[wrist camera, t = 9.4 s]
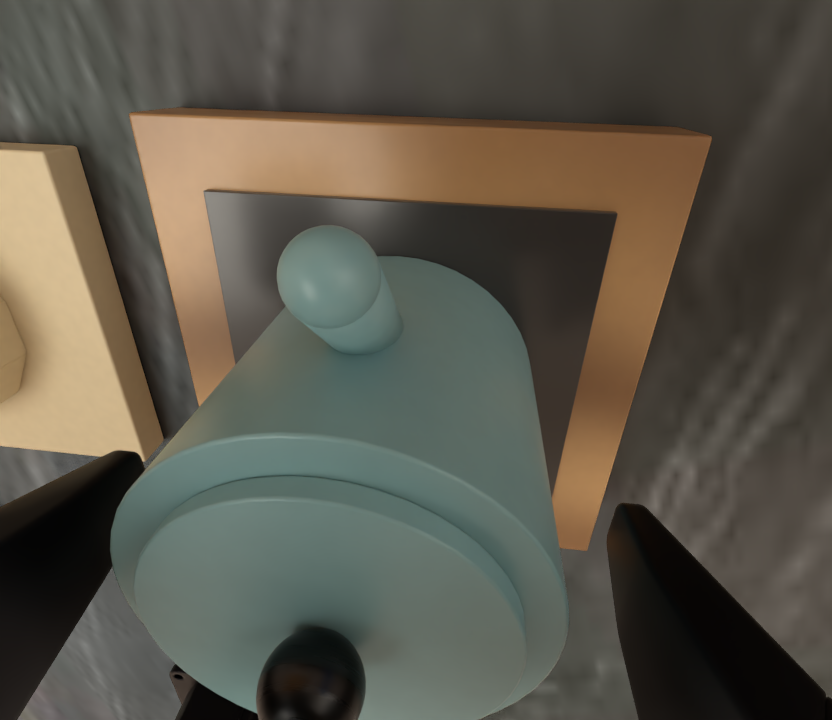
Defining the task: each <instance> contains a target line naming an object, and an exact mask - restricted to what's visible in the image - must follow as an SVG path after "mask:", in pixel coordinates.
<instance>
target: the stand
mask: <svg viewBox="0 0 832 720" xmlns="http://www.w3.org/2000/svg"><path fill="white" fill-rule="evenodd" d="M129 117H130V122H131V126H132V130H133V134H134V138H135V142H136V146H137V151H138V155H139V159H140V163H141V167H142V171H143V176H144V180H145V184H146V188H147V192H148V196H149V200H150V205H151V209H152V213H153V217H154V221H155V225H156V229H157V234H158V238H159V242H160V246H161V250H162V254H163V259H164V263H165V267H166V271H167V275H168V279H169V283H170V288H171V292H172V296H173V300H174V304H175V308H176V312H177V317H178V321H179V325H180V329H181V333H182V337H183V342H184V346H185V350H186V354H187V358H188V362H189V366H190V371H191V375H192V379H193V383H194V387H195V391H196V395H197V400H198V404H199V407H200V406H201V404H202V403H203V402H204V401H205V400H206V399H207V397H208V396H209V395H210V394H211V393H212V392H213V390H214V389H215V388H216V387H217V386H218V385H219V383H220V382H221V381H222V380H223V379H224V378H225V376H226V375H227V374H228V373H229V372H230V371H231V369H232V368H233V367H234V366H235V365H236V364H237V362H238V361H239V360H240V359H241V358H242V357H243V355H244V354H245V353H246V352H247V351H248V350H249V348H250V347H251V346H252V345H253V344H254V343H255V341H256V340H257V339H258V338H259V337H260V336H261V334H262V333H263V332H264V331H265V330H266V329H267V327H268V326H269V325H270V324H271V323H272V322H273V320H274V319H275V318H276V317H277V316H278V315H279V313H280V312H281V311H282V310H283V309H284V308H285V306H286V305H285V304H284V302H283V301H282V298H281V296H280V293H279V290H278V283H277V267H278V263H279V259H280V257H281V255H282V253H283V251H284V249H285V248H286V246H287V245H288V244H289V242H290V241H291V240H292V239H293V238H294V237H295V236H297V235H298V234H300V233H301V232H303V231H305V230H307V229H310V228H313V227H317V226H322V225H334V226H341V227H343V228H346V229H349V230H351V231H353V232H355V233H356V234H358V235H360V236H361V237H362V238H363V239H364V240H365V241H366V242H368V244H369V245H370V246H371V248H372V249H373V250H374V252H375V254H376V255H377V256H402V257H409V258H417V259H422V260H425V261H429V262H433V263H437V264H440V265H442V266H445V267H447V268H450V269H452V270H455V271H457V272H459V273H460V274H462V275H464V276H466V277H468V278H469V279H471V280H473V281H474V282H476V283H477V284H478V285H480V286H481V287H482V288H484V289H485V290H486V291H488V292H489V293H490V294H491V295H492V296H493V297H494V298H495V299H496V300H497V301H498V302H499V303H500V304H501V305H502V306H503V307H504V309H505V310H506V311H507V312H508V314H509V315H510V316H511V318H512V319H513V321H514V323H515V324H516V326H517V328H518V329H519V331H520V333H521V335H522V338H523V340H524V343H525V346H526V348H527V352H528V357H529V361H530V366H531V372H532V379H533V385H534V391H535V397H536V404H537V410H538V416H539V422H540V429H541V435H542V441H543V447H544V453H545V460H546V466H547V472H548V478H549V485H550V491H551V497H552V503H553V510H554V516H555V522H556V528H557V535H558V541H559V547H560V548H565V549H574V550H583V551H587V549H588V545H589V542H590V539H591V536H592V532H593V529H594V526H595V522H596V519H597V516H598V513H599V509H600V506H601V503H602V499H603V496H604V493H605V490H606V486H607V483H608V480H609V476H610V473H611V470H612V467H613V463H614V460H615V457H616V453H617V450H618V447H619V444H620V440H621V437H622V434H623V430H624V427H625V424H626V421H627V417H628V414H629V411H630V407H631V404H632V401H633V398H634V394H635V391H636V388H637V384H638V381H639V378H640V374H641V371H642V368H643V365H644V361H645V358H646V355H647V351H648V348H649V345H650V342H651V338H652V335H653V332H654V328H655V325H656V322H657V319H658V315H659V312H660V309H661V305H662V302H663V299H664V296H665V292H666V289H667V286H668V282H669V279H670V276H671V273H672V269H673V266H674V263H675V259H676V256H677V253H678V250H679V246H680V243H681V240H682V236H683V233H684V230H685V227H686V223H687V220H688V217H689V213H690V210H691V207H692V204H693V200H694V197H695V194H696V190H697V187H698V184H699V181H700V177H701V174H702V171H703V167H704V164H705V161H706V158H707V154H708V151H709V148H710V144H711V141H712V137H711V136H709V135H705V134H702V133H698V132H694V131H690V130H687V129H683V128H679V127H668V126H642V125H617V124H591V123H565V122H540V121H514V120H488V119H463V118H437V117H412V116H386V115H360V114H335V113H309V112H284V111H258V110H232V109H207V108H181V107H177V108H168V109H158V110H149V111H139V112H131V113H130V114H129Z"/></svg>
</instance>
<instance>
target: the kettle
mask: <svg viewBox="0 0 832 720" xmlns="http://www.w3.org/2000/svg"><path fill="white" fill-rule="evenodd" d="M277 283H278V290H279V293H280V296H281V298H282V301H283V302H284V304H285V305H286V306H285V308H284V309H283V310H282V311H281V312H280V313H279V315H278V316H277V317H276V318H275V319H274V320H273V322H272V323H271V324H270V325H269V326H268V327H267V329H266V330H265V331H264V332H263V333H262V334H261V336H260V337H259V338H258V339H257V340H256V341H255V343H254V344H253V345H252V346H251V347H250V348H249V350H248V351H247V352H246V353H245V354H244V355H243V357H242V358H241V359H240V360H239V361H238V362H237V364H236V365H235V366H234V367H233V368H232V369H231V371H230V372H229V373H228V374H227V375H226V376H225V378H224V379H223V380H222V381H221V382H220V383H219V385H218V386H217V387H216V388H215V389H214V390H213V392H212V393H211V394H210V395H209V396H208V397H207V399H206V400H205V401H204V402H203V403H202V404H201V406H200V407H199V408H198V409H197V410H196V411H195V413H194V414H193V415H192V416H191V417H190V418H189V420H188V421H187V422H186V423H185V424H184V425H183V427H182V428H181V429H180V430H179V431H178V432H177V434H176V435H175V436H174V437H173V438H172V439H171V441H170V442H169V443H168V444H167V445H166V446H165V448H164V449H163V450H162V451H161V452H160V453H159V455H158V456H157V457H156V458H155V459H154V460H153V462H152V463H151V464H150V465H149V466H148V467H147V469H146V470H145V471H144V472H143V473H142V474H141V476H140V477H139V478H138V479H137V480H136V481H135V483H134V484H133V485H132V486H131V487H130V488H129V490H128V491H127V492H126V494H125V495H124V497H123V499H122V501H121V503H120V505H119V507H118V508H117V510H116V514H115V518H114V521H113V525H112V529H111V539H110V553H111V559H112V565H113V570H114V573H115V576H116V578H117V581H118V584H119V587H120V589H121V591H122V593H123V594H124V596H125V598H126V600H127V602H128V604H129V605H130V607H131V608H132V609H133V611H134V612H135V614H136V615H137V616H138V618H139V619H140V621H141V622H142V623H143V624H144V625H145V627H146V629H147V631H148V632H149V633H150V635H151V636H152V638H153V639H154V640H155V642H156V643H157V645H158V646H159V647H160V648H161V649H162V650H163V651H164V652H165V653H166V655H167V656H168V657H169V658H170V659H171V660H172V661H173V662H174V663H176V664H177V665H178V666H179V667H180V668H181V669H182V670H183V671H185V672H186V673H187V674H189V675H190V676H191V677H193V678H194V679H195V680H197V681H198V682H199V683H201V684H202V685H204V686H205V687H207V688H209V689H210V690H212V691H213V692H215V693H216V694H218V695H220V696H222V697H224V698H226V699H227V700H229V701H231V702H233V703H235V704H237V705H239V706H241V707H244V708H246V709H248V710H250V711H252V712H255V713H257V714H258V719H259V720H479V719H481V718H483V717H485V716H487V715H489V714H492V713H494V712H497V711H500V710H501V709H503V708H505V707H507V706H509V705H511V704H513V703H515V702H517V701H518V700H520V699H521V698H523V697H524V696H526V695H527V694H528V693H530V692H531V691H533V690H534V689H535V688H536V687H537V686H538V685H539V684H540V683H541V682H542V681H543V680H544V679H545V678H546V677H547V676H548V675H549V673H550V672H551V670H552V669H553V668H554V666H555V665H556V663H557V662H558V660H559V657H560V655H561V653H562V650H563V648H564V646H565V643H566V638H567V633H568V628H569V603H568V597H567V591H566V584H565V578H564V572H563V566H562V559H561V553H560V547H559V541H558V535H557V528H556V522H555V516H554V510H553V503H552V497H551V491H550V485H549V478H548V472H547V466H546V460H545V453H544V447H543V441H542V435H541V429H540V422H539V416H538V410H537V404H536V397H535V391H534V385H533V379H532V372H531V366H530V361H529V357H528V352H527V348H526V346H525V343H524V340H523V338H522V335H521V333H520V331H519V329H518V328H517V326H516V324H515V323H514V321H513V319H512V318H511V316H510V315H509V314H508V312H507V311H506V310H505V309H504V307H503V306H502V305H501V304H500V303H499V302H498V301H497V300H496V299H495V298H494V297H493V296H492V295H491V294H490V293H489V292H488V291H486V290H485V289H484V288H482V287H481V286H480V285H478V284H477V283H476V282H474V281H473V280H471V279H469V278H468V277H466V276H464V275H462V274H460V273H459V272H457V271H455V270H452V269H450V268H447V267H445V266H442V265H440V264H437V263H433V262H429V261H425V260H422V259H417V258H409V257H402V256H377V255H376V254H375V252H374V250H373V249H372V248H371V246H370V245H369V244H368V242H366V241H365V240H364V239H363V238H362V237H361V236H360V235H358V234H356V233H355V232H353V231H351V230H349V229H346V228H343V227H341V226H334V225H322V226H317V227H313V228H310V229H307V230H305V231H303V232H301V233H300V234H298V235H297V236H295V237H294V238H293V239H292V240H291V241H290V242H289V244H288V245H287V246H286V248H285V249H284V251H283V253H282V255H281V257H280V259H279V263H278V267H277Z"/></svg>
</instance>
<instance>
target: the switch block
mask: <svg viewBox="0 0 832 720" xmlns="http://www.w3.org/2000/svg"><path fill="white" fill-rule="evenodd" d="M163 441H164V438H163V435H162V431H161V428H160V425H159V421H158V418H157V415H156V411H155V408H154V405H153V401H152V398H151V394H150V391H149V388H148V384H147V381H146V378H145V374H144V371H143V368H142V364H141V361H140V358H139V354H138V351H137V347H136V344H135V341H134V337H133V334H132V331H131V327H130V324H129V321H128V317H127V314H126V311H125V307H124V304H123V300H122V297H121V294H120V290H119V287H118V284H117V280H116V277H115V274H114V270H113V267H112V264H111V260H110V257H109V253H108V250H107V247H106V243H105V240H104V237H103V233H102V230H101V227H100V223H99V220H98V217H97V213H96V210H95V206H94V203H93V200H92V196H91V193H90V190H89V186H88V183H87V180H86V176H85V173H84V170H83V166H82V163H81V160H80V156H79V153H78V149H77V147H75V146H70V145H49V144H28V143H7V142H0V446H6V447H16V448H25V449H34V450H43V451H53V452H62V453H71V454H81V455H90V456H99V457H102V456H104V455H106V454H108V453H110V452H112V451H116V450H123V451H133V452H136V453H138V454H139V455H140V456H141V459H142V461H146V460H147V459H148V458H149V457H150V456H151V455H152V453H153V452H154V451H155V450H156V449H157V448H158V447H159V445H160V444H161V443H162V442H163Z"/></svg>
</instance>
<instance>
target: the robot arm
mask: <svg viewBox="0 0 832 720" xmlns="http://www.w3.org/2000/svg"><path fill="white" fill-rule="evenodd" d="M144 471H145V468H144V465H143V462H142V459H141V456H140V455H139V454H138V453H136V452H133V451H123V450H116V451H112V452H110V453H108V454H106V455H104V456H102V457H100V458H98V459H96V460H94V461H92V462H90V463H88V464H86V465H84V466H82V467H80V468H78V469H76V470H74V471H72V472H70V473H68V474H66V475H64V476H62V477H60V478H58V479H56V480H54V481H52V482H50V483H48V484H46V485H44V486H42V487H40V488H38V489H36V490H34V491H32V492H30V493H28V494H26V495H24V496H22V497H20V498H18V499H16V500H14V501H12V502H10V503H8V504H6V505H4V506H2V507H0V720H17V719H18V717H19V716H20V714H21V713H22V711H23V709H24V708H25V706H26V705H27V703H28V701H29V700H30V698H31V697H32V695H33V693H34V692H35V690H36V689H37V687H38V685H39V684H40V682H41V680H42V679H43V677H44V676H45V674H46V672H47V671H48V669H49V668H50V666H51V664H52V663H53V661H54V660H55V658H56V656H57V655H58V653H59V652H60V650H61V648H62V647H63V645H64V644H65V642H66V640H67V639H68V637H69V636H70V634H71V632H72V631H73V629H74V628H75V626H76V624H77V623H78V621H79V620H80V618H81V616H82V615H83V613H84V612H85V610H86V608H87V607H88V605H89V603H90V602H91V600H92V599H93V597H94V595H95V594H96V592H97V591H98V589H99V587H100V586H101V584H102V583H103V581H104V579H105V578H106V576H107V574H108V573H109V571H110V569H111V567H112V566H113V565H112V559H111V553H110V539H111V529H112V525H113V521H114V518H115V514H116V510H117V508H118V507H119V505H120V503H121V501H122V499H123V497H124V495H125V494H126V492H127V491H128V490H129V488H130V487H131V486H132V485H133V484H134V483H135V481H136V480H137V479H138V478H139V477H140V476H141V474H142V473H143V472H144ZM607 551H608V559H609V567H610V575H611V583H612V590H613V598H614V606H615V614H616V621H617V628H618V634H619V639H620V643H621V648H622V652H623V656H624V661H625V665H626V669H627V673H628V677H629V681H630V685H631V690H632V694H633V698H634V702H635V706H636V710H637V714H638V719H639V720H832V699H831V698H829V697H826V694H825V692H824V690H823V689H822V688H821V687H820V686H819V685H818V684H817V683H816V682H815V681H814V680H813V679H812V678H811V677H810V676H809V675H808V674H807V673H806V672H805V671H804V670H803V669H802V668H801V667H800V666H799V665H798V664H797V663H796V662H795V661H794V659H793V658H792V657H791V656H790V655H789V654H788V653H787V652H786V651H785V650H784V649H783V648H782V647H781V646H780V645H779V644H778V643H777V642H776V641H775V640H774V639H773V638H772V637H771V636H770V635H769V634H768V633H767V632H766V631H765V630H764V629H763V628H762V627H761V625H760V624H759V623H758V622H757V621H756V620H755V619H754V618H753V617H752V616H751V615H750V614H749V613H748V612H747V611H746V610H745V609H744V608H743V607H742V606H741V605H740V604H739V603H738V602H737V601H736V600H735V599H734V598H733V597H732V596H731V595H730V594H729V593H728V591H727V590H726V589H725V588H724V587H723V586H722V585H721V584H720V583H719V582H718V581H717V580H716V579H715V578H714V577H713V576H712V575H711V574H710V573H709V572H708V571H707V570H706V569H705V568H704V567H703V566H702V565H701V564H700V563H699V562H698V561H697V560H696V559H695V557H694V556H693V555H692V554H691V553H690V552H689V551H688V550H687V549H686V548H685V547H684V546H683V545H682V544H681V543H680V542H679V541H678V540H677V539H676V538H675V537H674V536H673V535H672V534H671V533H670V532H669V531H668V530H667V529H666V528H665V527H664V526H663V525H662V523H661V522H660V521H659V520H658V519H657V518H656V517H655V516H654V515H653V514H652V513H651V512H650V511H649V510H648V509H647V508H646V507H644V506H643V505H639V504H629V503H620V504H619V505H618V506H617V507H616V510H615V513H614V516H613V519H612V522H611V525H610V528H609V531H608V535H607ZM170 678H171V680H172V683H173V685H174V687H175V690H176V692H177V694H178V697H179V699H180V701H181V704H182V706H181V708H180V710H179V712H178V715H177V717H176V719H175V720H259V719H258V714H257V713H255V712H252V711H250V710H248V709H246V708H244V707H241V706H239V705H237V704H235V703H233V702H231V701H229V700H227V699H226V698H224V697H222V696H220V695H218V694H216V693H215V692H213V691H212V690H210V689H209V688H207V687H205V686H204V685H202V684H201V683H199V682H198V681H197V680H195V679H194V678H193V677H191V676H190V675H189V674H187V673H186V672H185V671H183V670H182V669H181V668H180V667H179V666H178V665H177V664H175V665H174V666H173V668H172V670H171V672H170Z"/></svg>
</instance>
